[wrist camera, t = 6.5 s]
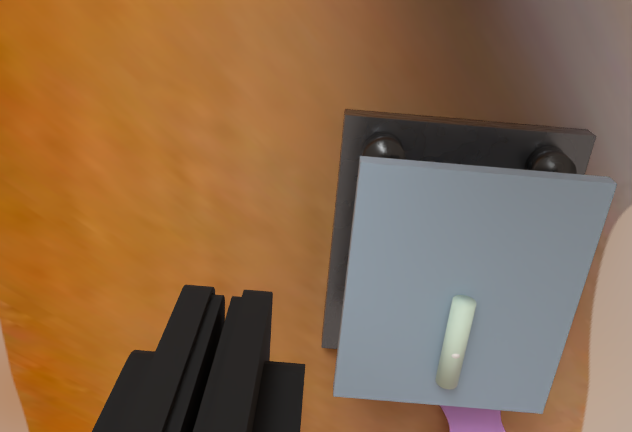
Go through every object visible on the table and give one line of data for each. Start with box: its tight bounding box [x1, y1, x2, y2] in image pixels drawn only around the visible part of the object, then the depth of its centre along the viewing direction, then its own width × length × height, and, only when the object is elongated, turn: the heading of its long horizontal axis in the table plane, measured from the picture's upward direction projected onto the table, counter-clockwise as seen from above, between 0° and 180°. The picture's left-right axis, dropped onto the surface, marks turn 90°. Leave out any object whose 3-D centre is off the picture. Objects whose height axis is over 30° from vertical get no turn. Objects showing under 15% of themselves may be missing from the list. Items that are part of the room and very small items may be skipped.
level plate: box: [333, 156, 617, 414], centre depth 40 cm, size 19×16×3 cm
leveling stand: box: [322, 109, 596, 349], centre depth 45 cm, size 21×18×6 cm
